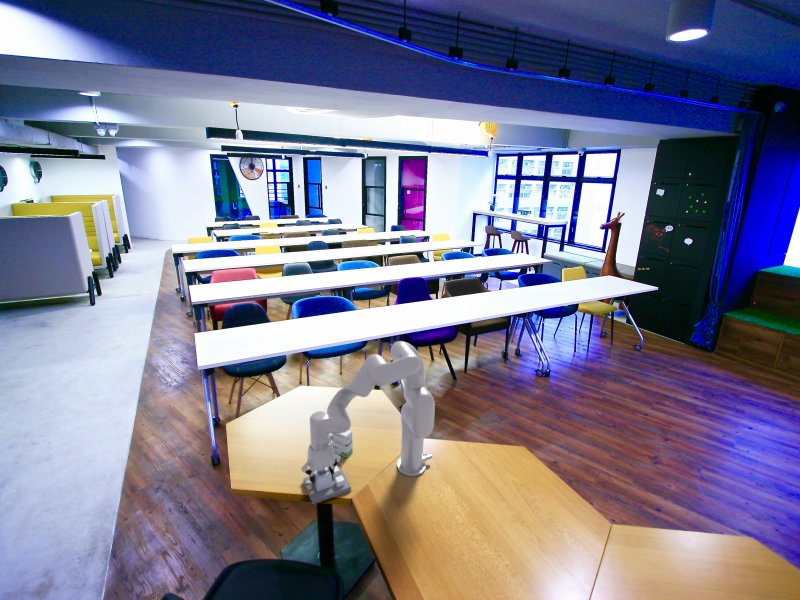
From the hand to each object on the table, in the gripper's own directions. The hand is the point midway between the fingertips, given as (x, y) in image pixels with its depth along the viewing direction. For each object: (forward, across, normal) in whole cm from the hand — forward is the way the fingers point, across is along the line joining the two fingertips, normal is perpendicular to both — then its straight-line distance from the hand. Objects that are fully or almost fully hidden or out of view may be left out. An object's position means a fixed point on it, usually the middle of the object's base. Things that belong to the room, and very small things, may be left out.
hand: (322, 478), depth 167 cm
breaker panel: (+5, -2, 0) cm, 5 cm away
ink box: (+5, -15, -17) cm, 23 cm away
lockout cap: (+3, 0, 0) cm, 3 cm away
